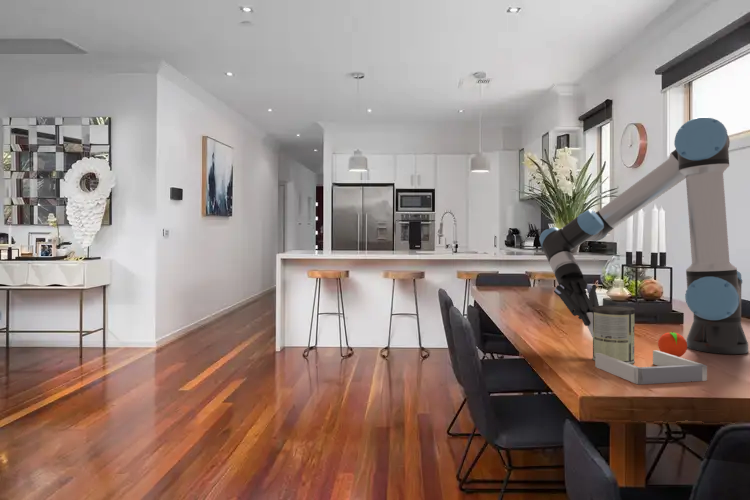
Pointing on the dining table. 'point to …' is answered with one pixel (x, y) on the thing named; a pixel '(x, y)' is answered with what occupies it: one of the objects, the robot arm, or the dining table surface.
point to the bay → (654, 369)
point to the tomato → (672, 344)
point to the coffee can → (614, 332)
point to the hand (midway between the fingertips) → (596, 334)
